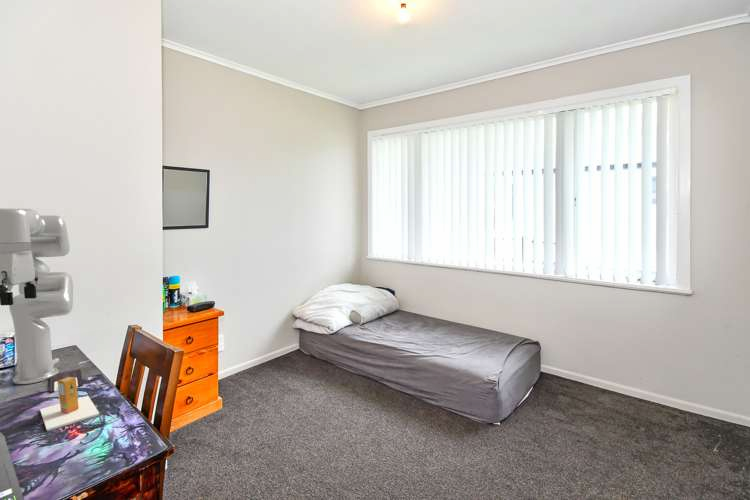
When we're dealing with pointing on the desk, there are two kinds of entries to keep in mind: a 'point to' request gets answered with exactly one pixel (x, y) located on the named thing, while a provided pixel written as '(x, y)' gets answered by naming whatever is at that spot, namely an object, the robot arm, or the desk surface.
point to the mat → (59, 419)
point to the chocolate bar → (59, 376)
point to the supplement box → (68, 394)
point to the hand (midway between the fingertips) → (19, 301)
